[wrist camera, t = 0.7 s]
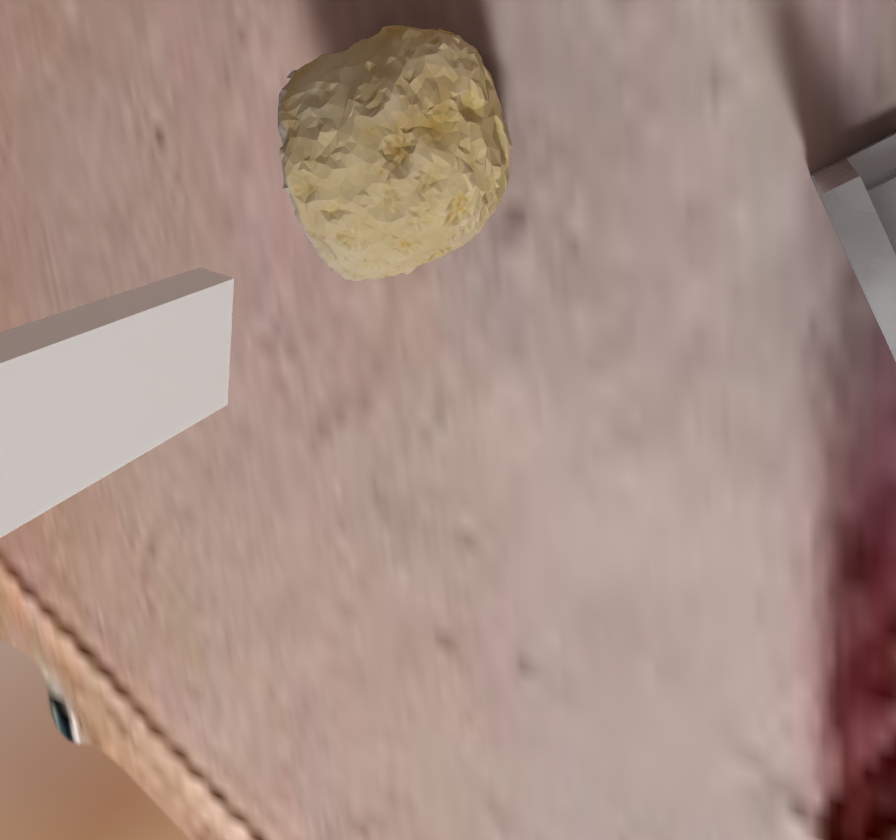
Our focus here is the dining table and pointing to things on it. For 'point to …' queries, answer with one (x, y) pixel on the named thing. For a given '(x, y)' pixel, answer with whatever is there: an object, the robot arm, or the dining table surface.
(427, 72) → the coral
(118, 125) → the dining table surface
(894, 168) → the cradle
